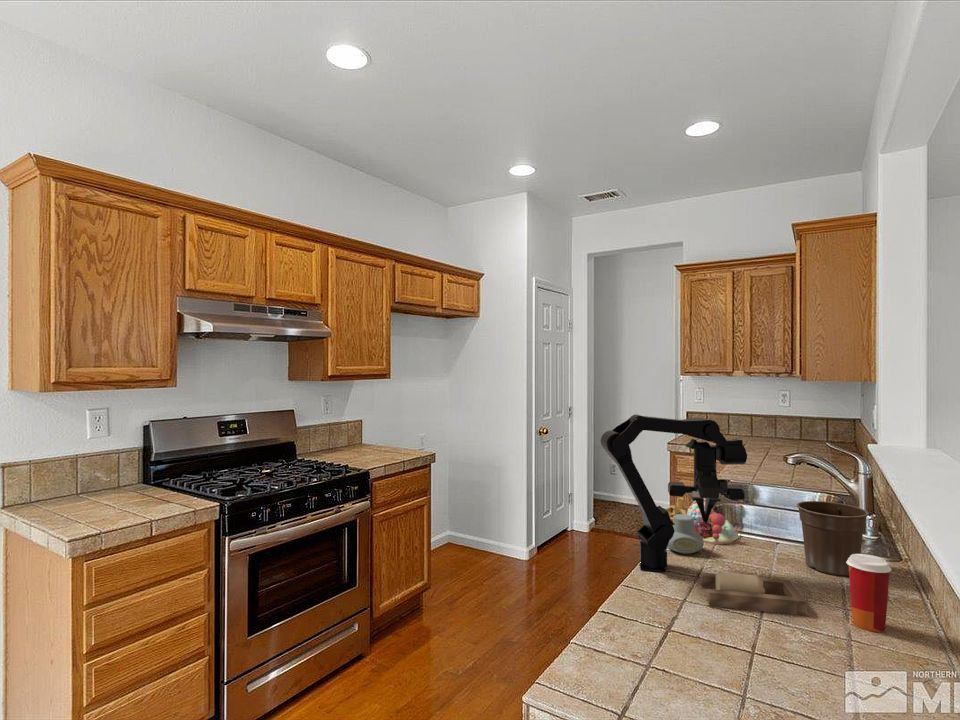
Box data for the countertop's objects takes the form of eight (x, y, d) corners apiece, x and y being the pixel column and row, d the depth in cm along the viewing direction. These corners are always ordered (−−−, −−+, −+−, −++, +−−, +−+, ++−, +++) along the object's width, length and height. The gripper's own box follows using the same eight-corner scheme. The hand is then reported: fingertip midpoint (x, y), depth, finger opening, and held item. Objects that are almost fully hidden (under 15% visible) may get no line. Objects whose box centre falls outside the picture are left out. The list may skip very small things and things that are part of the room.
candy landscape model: (649, 533, 177) (649, 504, 176) (671, 516, 195) (671, 490, 195) (732, 549, 162) (732, 518, 162) (747, 529, 181) (747, 501, 181)
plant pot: (792, 553, 157) (792, 497, 157) (858, 561, 151) (858, 503, 151) (802, 574, 142) (802, 512, 142) (876, 583, 136) (876, 519, 136)
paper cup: (883, 620, 117) (883, 555, 117) (897, 637, 110) (897, 568, 110) (841, 614, 119) (841, 551, 119) (852, 631, 112) (852, 563, 112)
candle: (719, 601, 126) (766, 605, 124) (719, 578, 126) (766, 582, 124) (715, 590, 132) (760, 594, 129) (715, 567, 131) (760, 571, 129)
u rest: (709, 605, 124) (709, 592, 124) (700, 584, 135) (700, 572, 135) (806, 615, 119) (806, 601, 119) (789, 592, 131) (789, 580, 131)
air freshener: (701, 547, 162) (701, 513, 162) (705, 557, 154) (705, 522, 154) (662, 544, 165) (662, 511, 165) (665, 554, 157) (665, 519, 157)
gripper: (672, 469, 142) (672, 528, 142) (749, 472, 137) (749, 534, 137) (667, 461, 153) (667, 516, 153) (739, 464, 148) (739, 521, 148)
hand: (704, 522), depth 147 cm, fingers closed
